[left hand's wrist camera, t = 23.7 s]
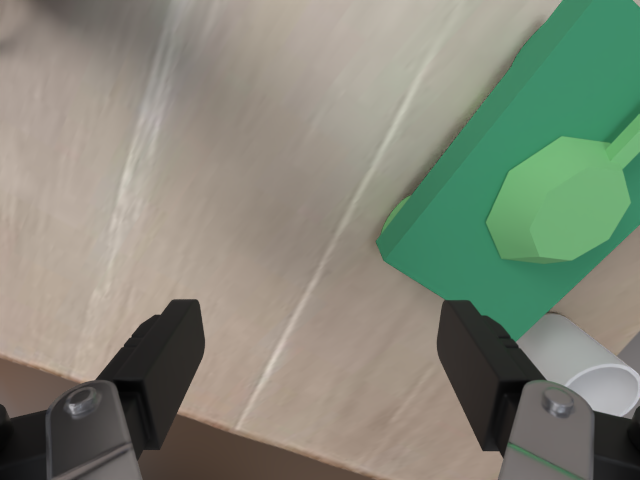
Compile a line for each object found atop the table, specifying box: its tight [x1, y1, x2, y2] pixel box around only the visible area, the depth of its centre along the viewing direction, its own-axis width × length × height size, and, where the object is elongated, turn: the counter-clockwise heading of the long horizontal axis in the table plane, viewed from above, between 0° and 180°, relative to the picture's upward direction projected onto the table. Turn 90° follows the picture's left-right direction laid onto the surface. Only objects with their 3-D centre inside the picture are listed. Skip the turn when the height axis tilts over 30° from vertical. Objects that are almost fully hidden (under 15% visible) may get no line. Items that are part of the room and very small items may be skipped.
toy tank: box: [376, 0, 640, 342], centre depth 32 cm, size 18×12×35 cm
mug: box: [516, 313, 640, 417], centre depth 42 cm, size 11×9×10 cm
